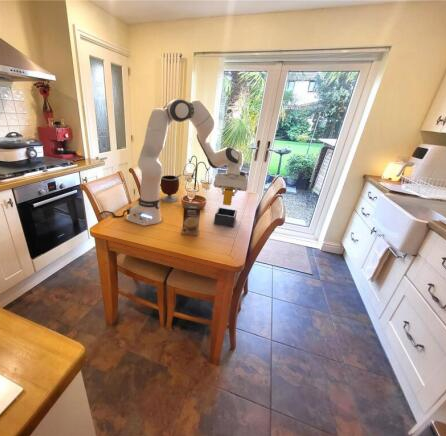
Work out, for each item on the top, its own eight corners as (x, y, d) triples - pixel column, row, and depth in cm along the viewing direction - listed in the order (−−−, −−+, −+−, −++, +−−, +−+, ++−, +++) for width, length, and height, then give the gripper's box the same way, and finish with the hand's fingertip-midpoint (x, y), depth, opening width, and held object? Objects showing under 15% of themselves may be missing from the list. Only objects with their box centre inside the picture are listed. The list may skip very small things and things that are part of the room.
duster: (222, 204, 141) (224, 188, 136) (224, 202, 144) (225, 186, 140) (230, 205, 139) (232, 189, 135) (231, 203, 143) (233, 187, 139)
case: (213, 224, 144) (215, 213, 141) (217, 216, 154) (218, 207, 151) (232, 227, 140) (234, 217, 137) (235, 219, 150) (237, 210, 147)
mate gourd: (157, 200, 176) (157, 174, 167) (164, 195, 188) (164, 170, 179) (177, 203, 172) (178, 177, 164) (182, 197, 184) (183, 172, 176)
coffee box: (181, 234, 130) (183, 207, 123) (182, 229, 136) (184, 203, 129) (198, 235, 129) (200, 209, 123) (198, 230, 135) (200, 204, 128)
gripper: (215, 170, 143) (210, 190, 139) (249, 174, 137) (245, 195, 133) (216, 175, 149) (211, 194, 145) (249, 179, 143) (245, 199, 139)
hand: (228, 195), depth 139 cm, fingers closed on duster, 4 cm apart
